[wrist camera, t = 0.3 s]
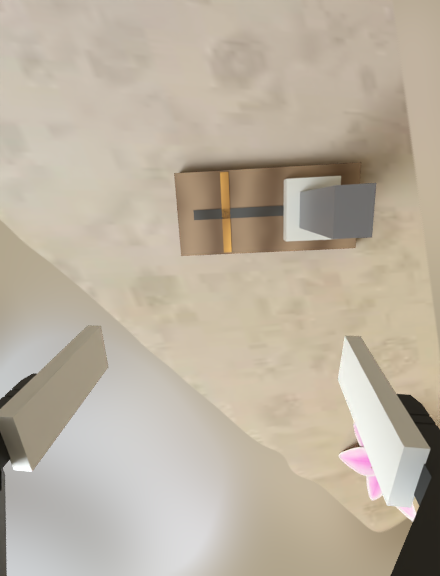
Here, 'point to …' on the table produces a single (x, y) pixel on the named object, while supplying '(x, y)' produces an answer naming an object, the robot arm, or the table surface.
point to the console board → (246, 209)
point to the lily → (368, 472)
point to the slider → (327, 209)
